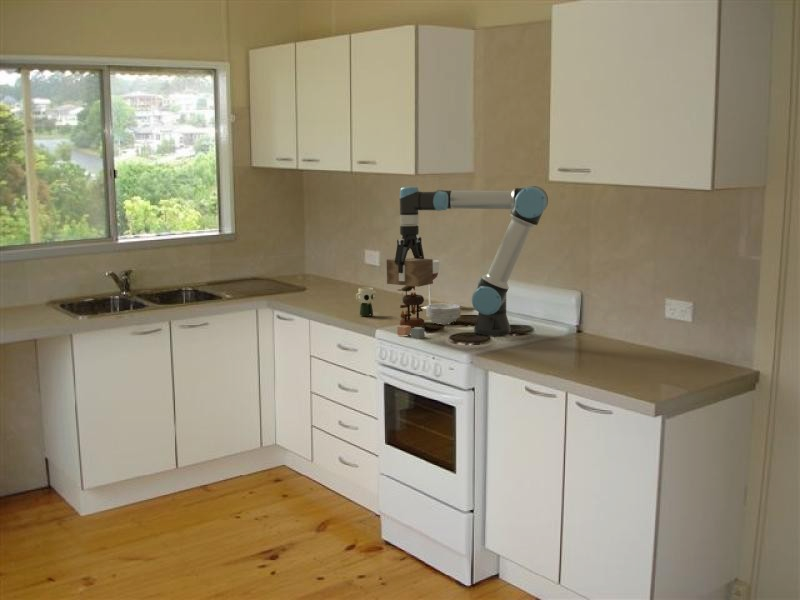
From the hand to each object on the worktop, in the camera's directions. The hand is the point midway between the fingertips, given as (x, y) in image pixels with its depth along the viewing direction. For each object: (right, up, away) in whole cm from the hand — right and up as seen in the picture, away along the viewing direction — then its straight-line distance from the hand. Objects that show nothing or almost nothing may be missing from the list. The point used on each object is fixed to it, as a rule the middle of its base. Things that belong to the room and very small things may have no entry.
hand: (409, 279), depth 376 cm
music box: (+2, -20, +24) cm, 31 cm away
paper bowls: (+15, -19, +33) cm, 41 cm away
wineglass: (+11, -12, +75) cm, 77 cm away
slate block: (+3, -24, +2) cm, 24 cm away
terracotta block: (-2, -23, +6) cm, 24 cm away
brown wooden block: (0, -2, 0) cm, 2 cm away
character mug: (-20, -16, +53) cm, 59 cm away
